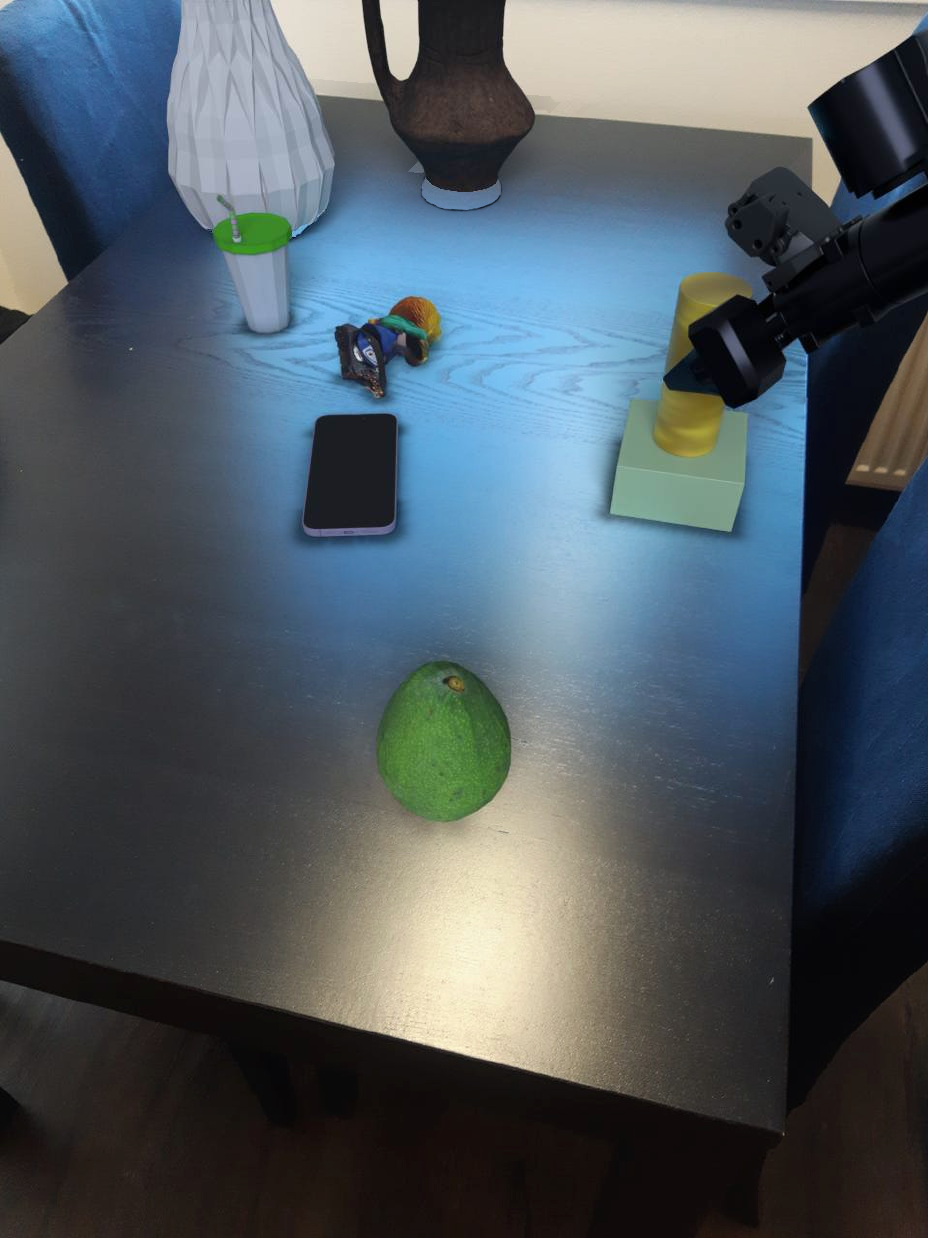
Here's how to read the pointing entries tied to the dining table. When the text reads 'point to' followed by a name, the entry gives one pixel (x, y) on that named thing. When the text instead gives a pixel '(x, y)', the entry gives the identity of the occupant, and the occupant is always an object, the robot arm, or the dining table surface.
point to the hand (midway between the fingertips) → (699, 358)
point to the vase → (244, 118)
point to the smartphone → (352, 476)
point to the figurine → (388, 342)
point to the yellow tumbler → (682, 416)
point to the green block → (680, 474)
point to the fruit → (443, 743)
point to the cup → (258, 265)
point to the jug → (453, 92)
